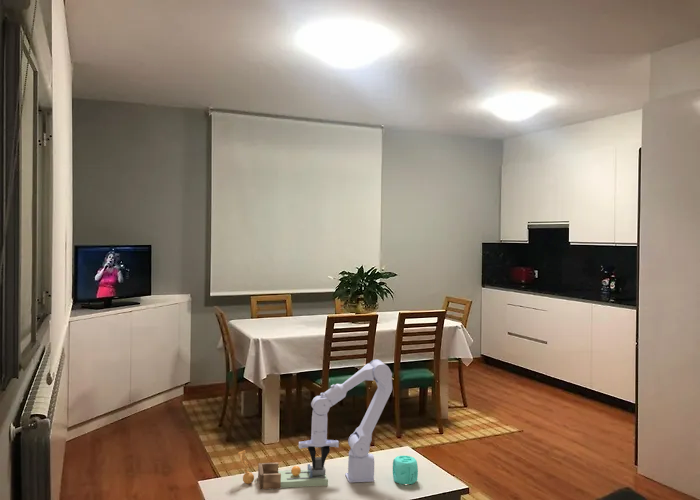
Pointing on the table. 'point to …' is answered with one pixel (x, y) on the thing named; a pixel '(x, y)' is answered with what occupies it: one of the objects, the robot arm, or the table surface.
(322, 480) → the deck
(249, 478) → the figurine
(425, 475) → the table surface
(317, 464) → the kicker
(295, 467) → the ball
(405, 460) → the decorative dice
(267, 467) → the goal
